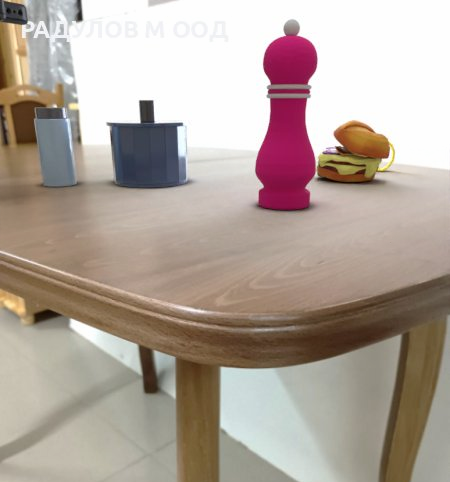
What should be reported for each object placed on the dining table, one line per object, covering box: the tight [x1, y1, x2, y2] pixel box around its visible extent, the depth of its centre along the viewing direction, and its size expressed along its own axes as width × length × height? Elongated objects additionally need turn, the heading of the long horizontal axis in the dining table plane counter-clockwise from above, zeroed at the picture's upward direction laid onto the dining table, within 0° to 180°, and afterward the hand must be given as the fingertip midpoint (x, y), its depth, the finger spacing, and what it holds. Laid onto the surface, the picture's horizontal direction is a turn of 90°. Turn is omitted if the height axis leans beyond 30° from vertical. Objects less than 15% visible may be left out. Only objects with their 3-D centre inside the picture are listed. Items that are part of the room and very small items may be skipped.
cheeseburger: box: [316, 119, 391, 183], centre depth 78 cm, size 10×11×10 cm
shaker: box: [33, 106, 78, 188], centre depth 73 cm, size 5×5×11 cm
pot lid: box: [105, 99, 190, 127], centre depth 73 cm, size 12×12×4 cm
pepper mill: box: [254, 18, 319, 211], centre depth 56 cm, size 7×7×20 cm
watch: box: [376, 136, 396, 172], centre depth 89 cm, size 6×3×6 cm, turn 77°
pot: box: [108, 125, 189, 189], centre depth 76 cm, size 11×11×8 cm
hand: (5, 18), depth 63 cm, fingers open, 8 cm apart
